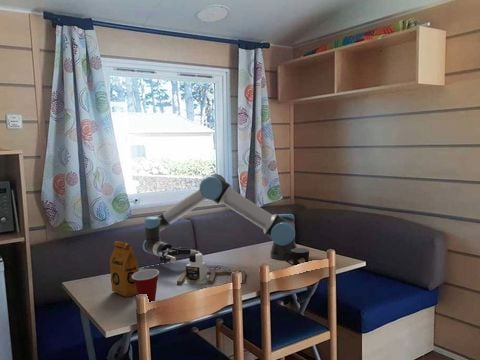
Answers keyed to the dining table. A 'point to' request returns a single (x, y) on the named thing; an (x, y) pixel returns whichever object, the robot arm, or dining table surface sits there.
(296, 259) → the coffee mug
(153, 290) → the plastic cup
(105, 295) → the dining table surface
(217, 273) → the wooden tray frame
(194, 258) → the medicine bottle
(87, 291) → the dining table surface
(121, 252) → the coffee package
